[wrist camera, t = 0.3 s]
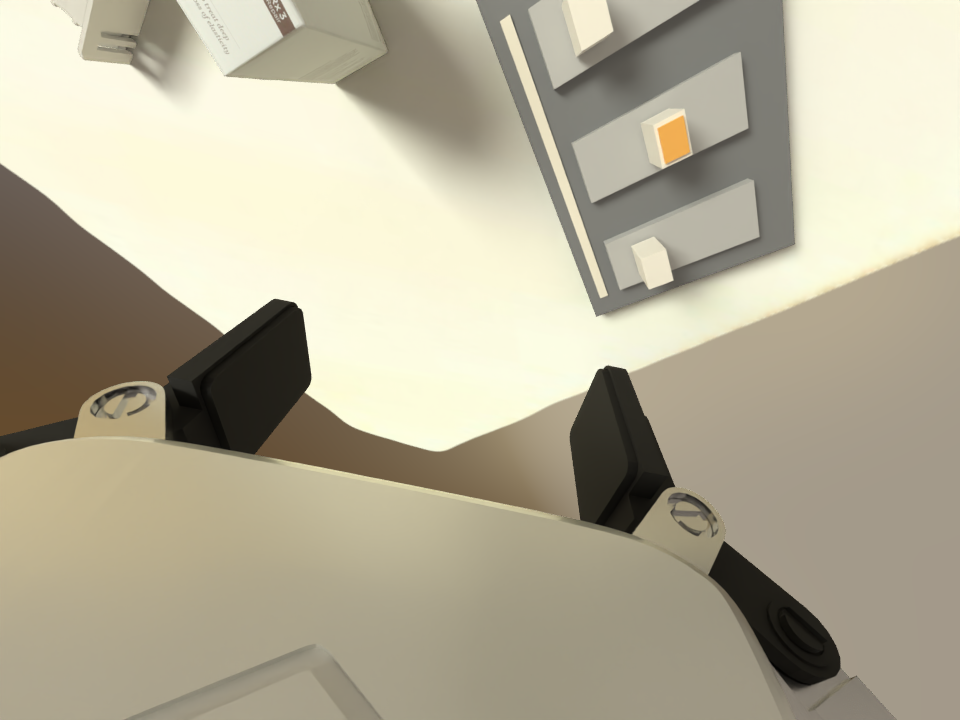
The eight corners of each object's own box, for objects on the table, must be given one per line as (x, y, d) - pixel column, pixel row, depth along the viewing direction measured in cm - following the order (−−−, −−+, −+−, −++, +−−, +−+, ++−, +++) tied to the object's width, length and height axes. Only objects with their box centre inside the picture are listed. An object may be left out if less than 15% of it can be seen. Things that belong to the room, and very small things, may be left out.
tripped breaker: (668, 108, 27) (685, 108, 24) (676, 149, 28) (693, 155, 25) (640, 123, 27) (654, 125, 24) (649, 162, 29) (663, 169, 26)
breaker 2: (653, 236, 32) (666, 248, 29) (661, 265, 33) (673, 280, 31) (630, 246, 33) (640, 259, 30) (639, 274, 34) (649, 289, 31)
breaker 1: (590, -14, 24) (598, -31, 21) (604, 39, 25) (613, 31, 22) (561, 6, 24) (565, -7, 21) (575, 57, 26) (581, 51, 23)
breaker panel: (751, -205, 21) (780, -246, 18) (782, 237, 34) (801, 247, 31) (478, 4, 27) (473, -6, 25) (593, 308, 40) (597, 321, 38)
